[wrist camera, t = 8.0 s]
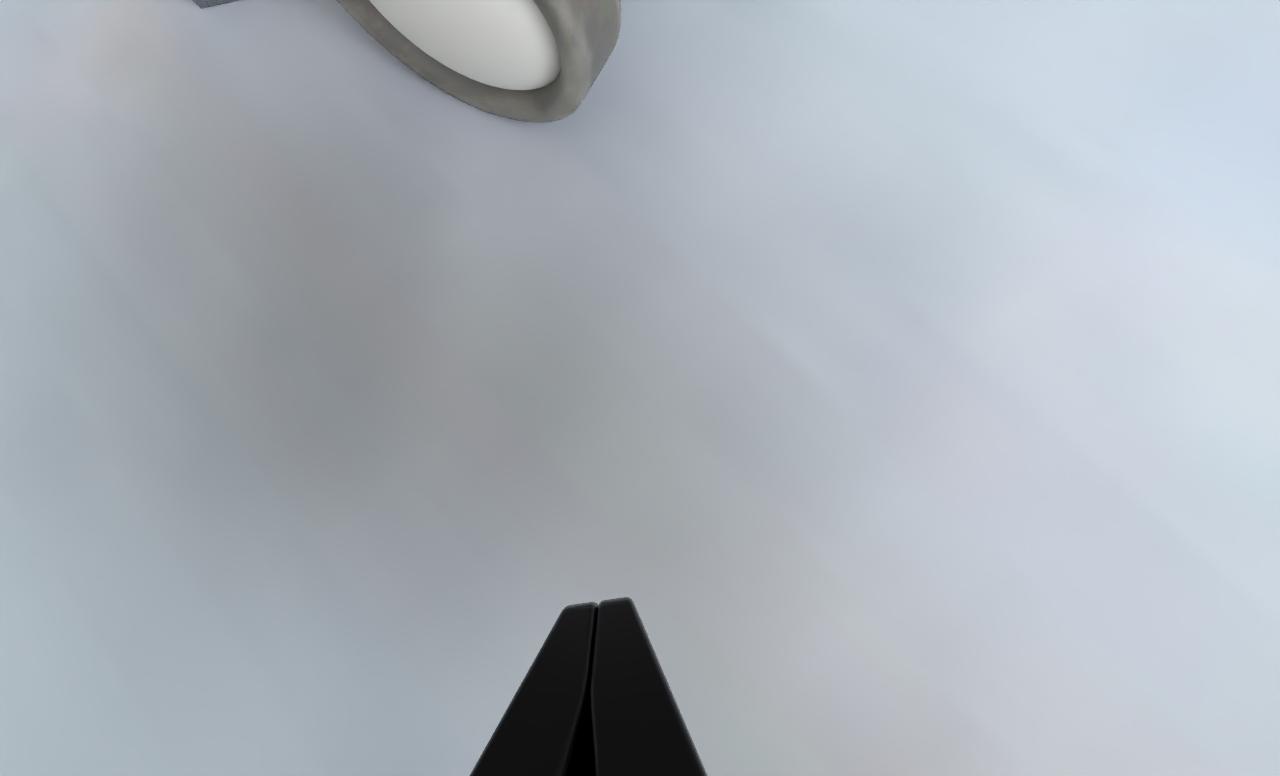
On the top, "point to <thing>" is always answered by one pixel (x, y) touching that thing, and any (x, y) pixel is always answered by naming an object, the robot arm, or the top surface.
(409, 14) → the pipe fitting
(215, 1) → the duct bracket
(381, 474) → the top surface
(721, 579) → the top surface
